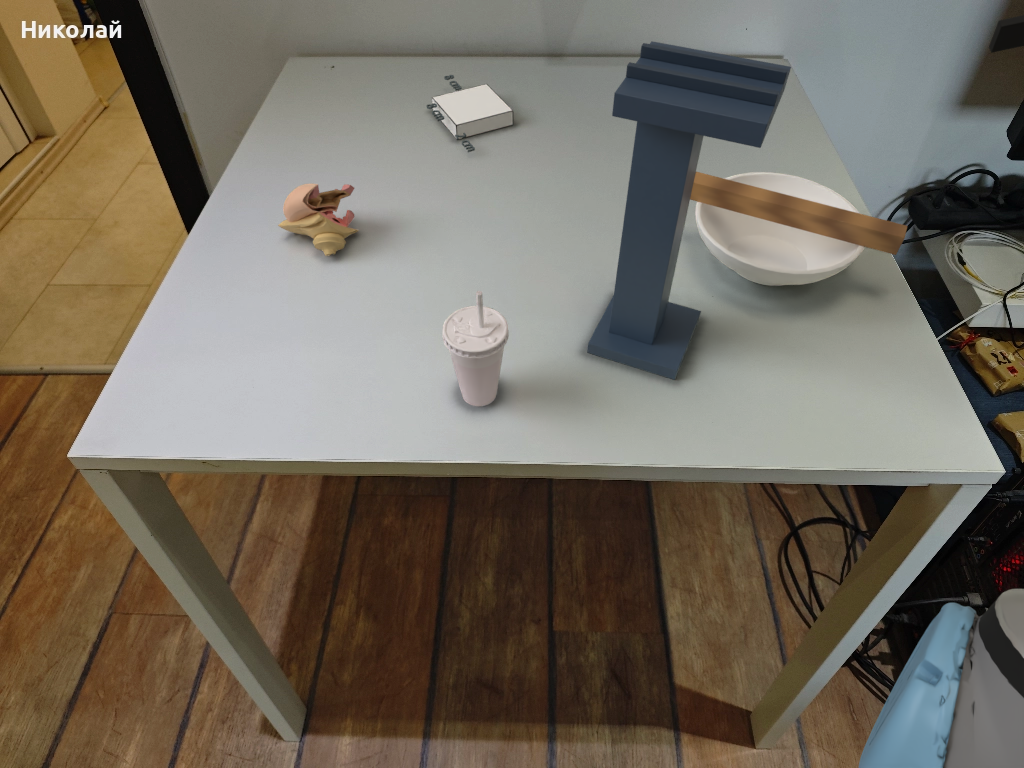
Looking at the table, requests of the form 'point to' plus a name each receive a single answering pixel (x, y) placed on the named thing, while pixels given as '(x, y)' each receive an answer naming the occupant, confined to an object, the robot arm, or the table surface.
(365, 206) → the table surface
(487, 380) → the smoothie
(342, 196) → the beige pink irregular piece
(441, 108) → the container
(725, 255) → the bowl
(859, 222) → the stirring stick
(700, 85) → the lectern stand
